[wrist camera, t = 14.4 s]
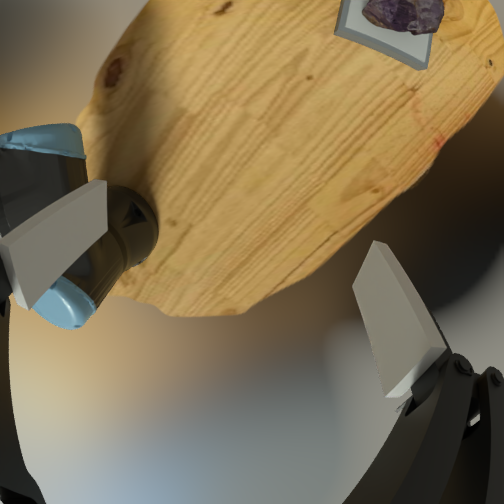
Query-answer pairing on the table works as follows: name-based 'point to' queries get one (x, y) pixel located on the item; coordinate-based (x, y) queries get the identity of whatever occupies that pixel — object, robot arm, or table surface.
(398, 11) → the rock
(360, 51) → the table surface
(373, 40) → the grey flat square block
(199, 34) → the table surface
